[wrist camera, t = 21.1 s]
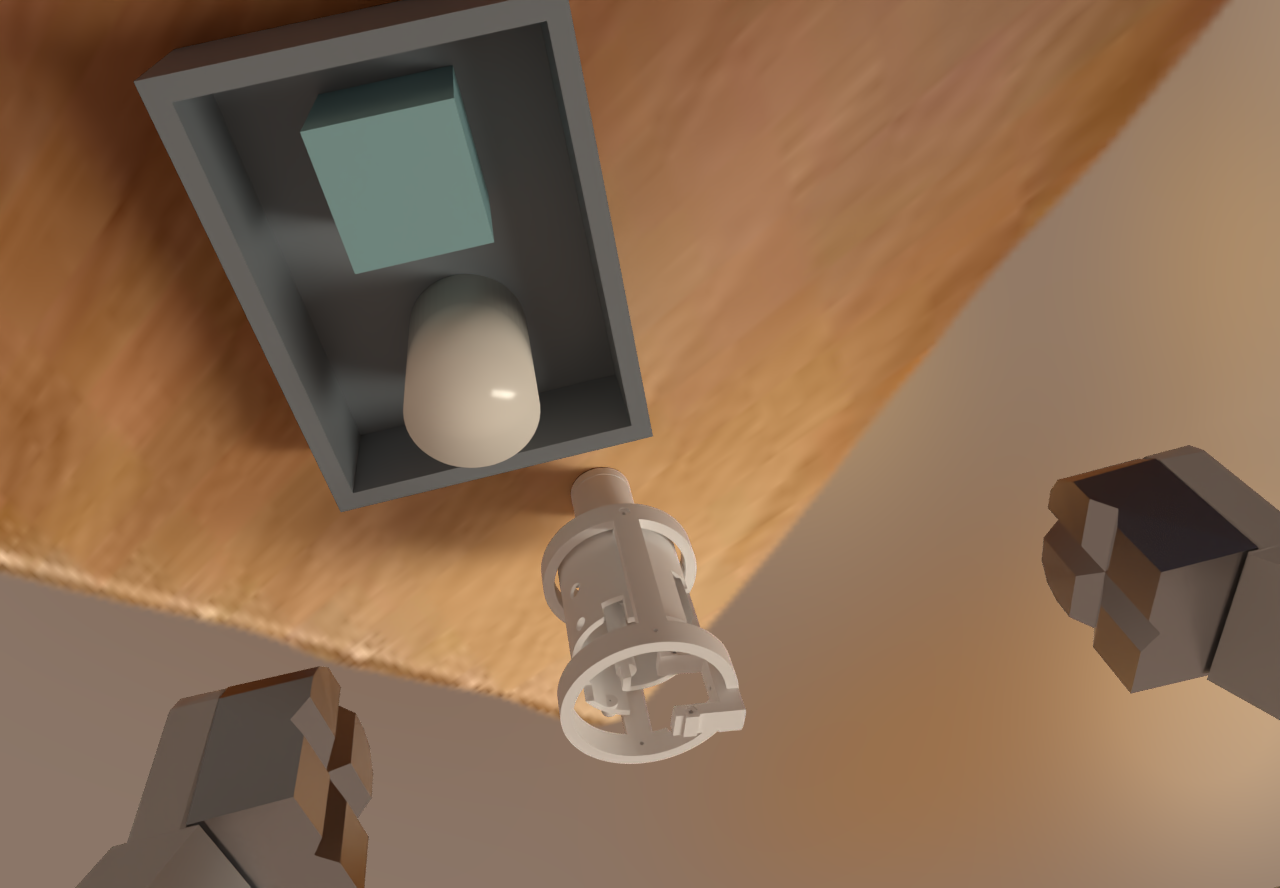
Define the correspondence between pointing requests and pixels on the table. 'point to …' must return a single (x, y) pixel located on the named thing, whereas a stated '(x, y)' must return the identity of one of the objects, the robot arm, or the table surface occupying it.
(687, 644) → the grey slotted cylindrical housing
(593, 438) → the tote
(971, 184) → the table surface
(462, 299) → the cream capsule
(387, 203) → the teal cube
